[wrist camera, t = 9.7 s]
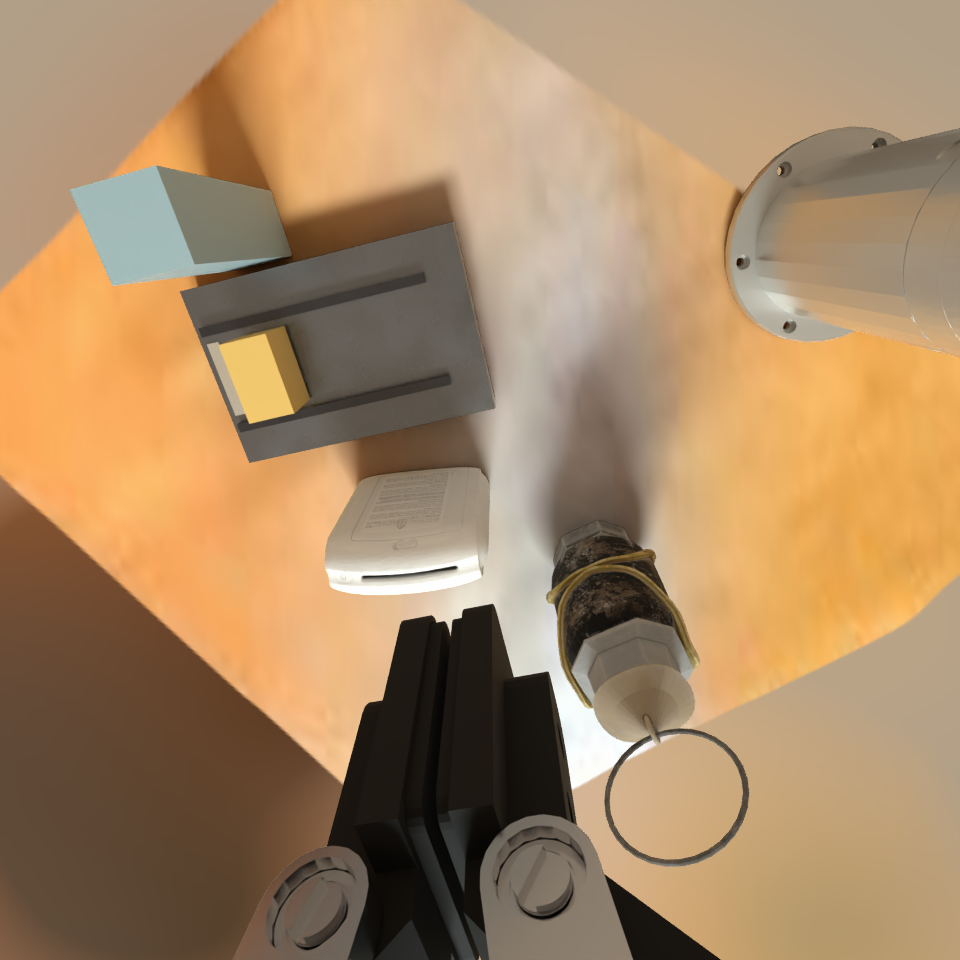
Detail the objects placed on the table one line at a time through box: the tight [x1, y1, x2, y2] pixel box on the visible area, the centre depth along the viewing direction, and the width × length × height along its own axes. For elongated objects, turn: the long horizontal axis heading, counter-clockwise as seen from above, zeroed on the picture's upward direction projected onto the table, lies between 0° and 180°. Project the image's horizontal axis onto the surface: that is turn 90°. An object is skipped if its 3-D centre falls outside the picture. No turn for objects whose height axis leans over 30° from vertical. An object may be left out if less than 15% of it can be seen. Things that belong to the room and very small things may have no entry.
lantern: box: [546, 520, 749, 866], centre depth 36 cm, size 9×8×25 cm
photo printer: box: [325, 467, 490, 595], centre depth 40 cm, size 10×4×12 cm, turn 97°
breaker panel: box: [180, 222, 495, 463], centre depth 40 cm, size 18×12×3 cm, turn 103°
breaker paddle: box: [218, 326, 310, 424], centre depth 37 cm, size 3×5×4 cm, turn 13°
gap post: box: [70, 166, 292, 286], centre depth 32 cm, size 4×4×14 cm
